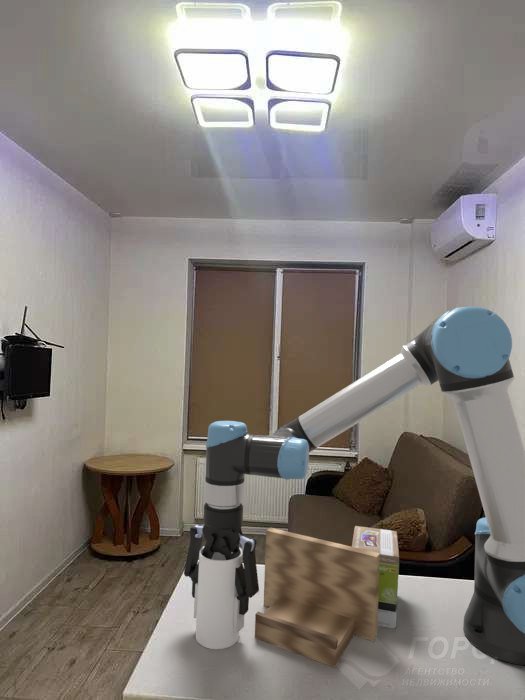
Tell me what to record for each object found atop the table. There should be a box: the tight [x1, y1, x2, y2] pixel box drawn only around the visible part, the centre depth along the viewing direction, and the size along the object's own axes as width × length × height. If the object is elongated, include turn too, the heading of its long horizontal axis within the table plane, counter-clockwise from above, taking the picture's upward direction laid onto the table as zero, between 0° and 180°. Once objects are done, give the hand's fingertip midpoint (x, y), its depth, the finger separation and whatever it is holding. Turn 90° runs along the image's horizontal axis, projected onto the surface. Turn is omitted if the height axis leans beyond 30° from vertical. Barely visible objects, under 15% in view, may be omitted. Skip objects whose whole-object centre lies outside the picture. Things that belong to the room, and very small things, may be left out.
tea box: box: [351, 525, 400, 629], centre depth 100 cm, size 15×10×15 cm, turn 166°
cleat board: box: [254, 527, 380, 668], centre depth 89 cm, size 24×13×16 cm, turn 62°
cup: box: [195, 545, 243, 650], centre depth 88 cm, size 8×8×16 cm
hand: (218, 622), depth 88 cm, fingers closed on cup, 8 cm apart
